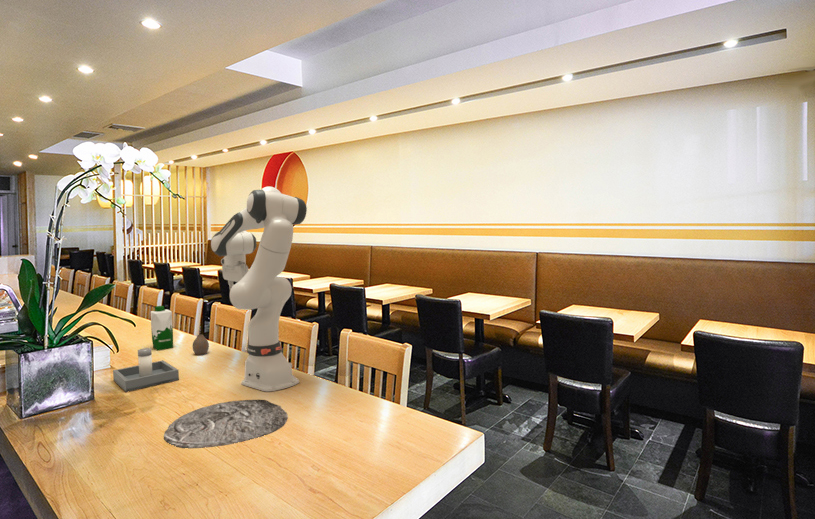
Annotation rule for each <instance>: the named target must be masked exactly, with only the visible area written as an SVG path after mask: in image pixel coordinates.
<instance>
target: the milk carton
mask: <svg viewBox="0 0 815 519" xmlns="http://www.w3.org/2000/svg"><path fill="white" fill-rule="evenodd" d="M150 327H151V341H152V346H153V347H152V348H153V349H154V350H156V351H163V350H167V349H168V350H169V349H173V348H174V332H173V331H174V329H173V328H174V326H173V311H171V310H170V309H165V306H164V305H157V306H155V307H154V310H151V311H150Z"/></svg>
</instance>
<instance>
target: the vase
mask: <svg viewBox="0 0 815 519" xmlns="http://www.w3.org/2000/svg"><path fill="white" fill-rule="evenodd" d="M209 349H210V344H209V341H208V339H207V338H206V337H205V336H204V334H197V336H196V338H195V339H194V340H193V342H192V351H193V352H194V354H195V355H197V356H203V355H206V354H207V353H208V351H209ZM205 353H206V354H205ZM202 354H203V355H202Z"/></svg>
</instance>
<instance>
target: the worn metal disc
mask: <svg viewBox="0 0 815 519" xmlns="http://www.w3.org/2000/svg"><path fill="white" fill-rule="evenodd" d="M288 419H289V417H288V413H287V412H286V411H285V409H284V408H283V407H282V406H281V405H278V404H276V403H273V402H271V401H269V400H266V399H242V400H240V399H239V400H231V401H225V402H218V403H216V404H211V405H208V406H203V407H200V408H197V409H195V410H193V411H190V412H188V413H185V414H183V415H181V416H178V418H176V419H175V420H173V422H171V423H170V424H169V425H168V427H167V429H166V430H165V431H164V434H163V440H164V441H165V443H167V444H168V443H169V444H168V445H170V444H171V446H172V445H174V446H173V447H175V446H176V447H175V448H180V449H185V448H188V449H204V448H205V447H206V448H214V447H215V448H216V447H221V446H224V447H225V446H228V445H233V444H234V443H235V444H238V442H239V443H242V442H246V441H250V439H251V440H255V439H258V437H259V438H262V437H265V436H267V435H270V434H273V433H275V432H277V431H278V430H280V429H281V428H283V427H284V426H285V425H286V424H287V421H288ZM264 435H265V436H264ZM254 438H255V439H254Z"/></svg>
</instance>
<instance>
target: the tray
mask: <svg viewBox="0 0 815 519" xmlns="http://www.w3.org/2000/svg"><path fill="white" fill-rule="evenodd" d="M152 371H153V375H148V376H143V377H139V364H137V365H133V366H128V367H124V368H118V369H113V370H112V377H113V378H112V379H113V381H114V382H115V383H116V384H117V386H119V388H121V389H122V390H123V391H124V392H125V393H128V391H129V392H133V391H138V390H142V389H146V388H150V387H154V386H158V385H159V386H160V385H163V384H167V383H172V382H176V381H179V380H180V378H179V376H180V375H179V369H177V367H174V366H173V365H171V364H170V363H168V362H167V361H165V360H157V361H152ZM137 389H138V390H137Z"/></svg>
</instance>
